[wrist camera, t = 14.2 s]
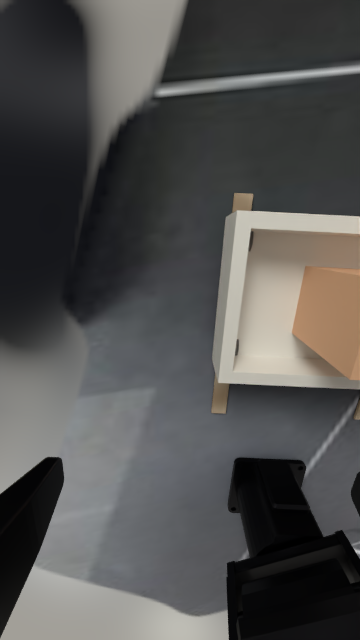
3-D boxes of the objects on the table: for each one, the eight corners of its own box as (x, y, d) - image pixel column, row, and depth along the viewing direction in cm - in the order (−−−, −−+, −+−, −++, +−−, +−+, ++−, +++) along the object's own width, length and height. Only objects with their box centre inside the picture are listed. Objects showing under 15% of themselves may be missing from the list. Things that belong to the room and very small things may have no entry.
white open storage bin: (399, 363, 19) (454, 393, 15) (210, 354, 19) (218, 382, 15) (447, 230, 16) (531, 225, 12) (223, 218, 16) (237, 210, 12)
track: (367, 418, 21) (368, 419, 21) (211, 411, 21) (211, 412, 21) (439, 204, 16) (442, 204, 16) (234, 193, 16) (234, 193, 16)
